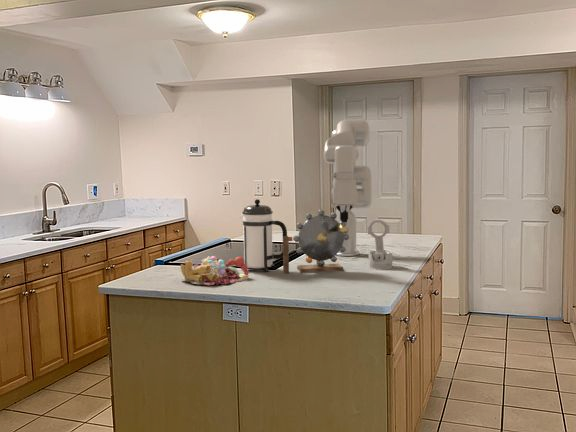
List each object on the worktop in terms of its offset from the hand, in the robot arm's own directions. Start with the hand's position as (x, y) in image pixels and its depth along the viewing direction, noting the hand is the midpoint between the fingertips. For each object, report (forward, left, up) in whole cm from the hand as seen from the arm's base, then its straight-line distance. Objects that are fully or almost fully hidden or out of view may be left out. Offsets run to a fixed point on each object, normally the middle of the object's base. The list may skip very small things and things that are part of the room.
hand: (344, 221), depth 242 cm
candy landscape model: (-28, -45, -22) cm, 57 cm away
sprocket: (-6, -6, -19) cm, 21 cm away
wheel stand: (-14, -5, -21) cm, 26 cm away
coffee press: (-30, -20, -21) cm, 42 cm away
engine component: (+1, +20, -22) cm, 30 cm away
